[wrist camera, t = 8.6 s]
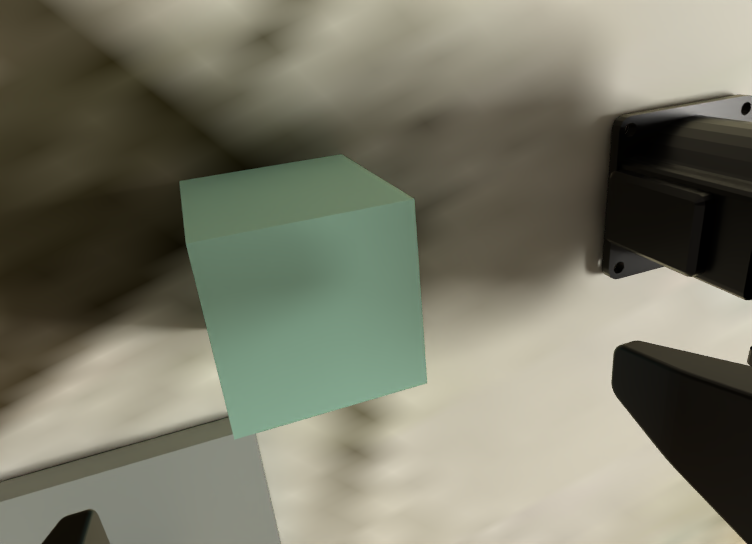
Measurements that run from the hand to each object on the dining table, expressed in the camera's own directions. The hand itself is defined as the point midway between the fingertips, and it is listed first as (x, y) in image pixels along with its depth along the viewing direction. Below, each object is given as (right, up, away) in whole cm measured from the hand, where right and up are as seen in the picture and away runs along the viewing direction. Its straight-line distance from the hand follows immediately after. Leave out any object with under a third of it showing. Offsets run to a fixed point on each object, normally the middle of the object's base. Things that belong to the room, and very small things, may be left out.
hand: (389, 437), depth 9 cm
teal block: (-3, +4, +9) cm, 10 cm away
